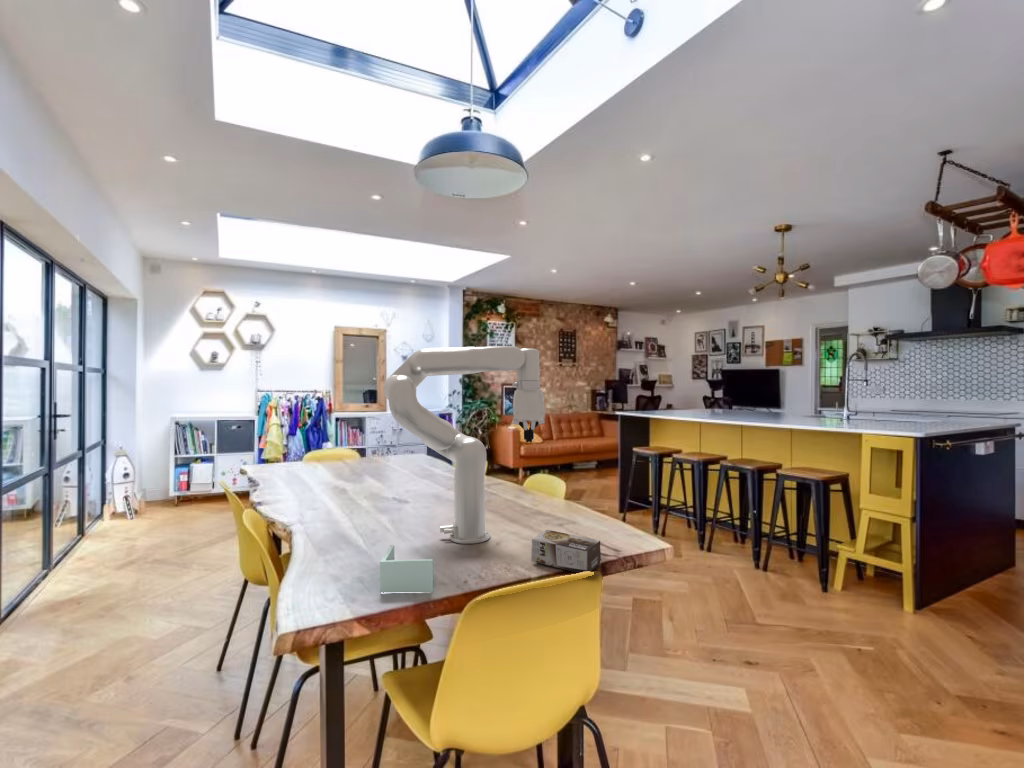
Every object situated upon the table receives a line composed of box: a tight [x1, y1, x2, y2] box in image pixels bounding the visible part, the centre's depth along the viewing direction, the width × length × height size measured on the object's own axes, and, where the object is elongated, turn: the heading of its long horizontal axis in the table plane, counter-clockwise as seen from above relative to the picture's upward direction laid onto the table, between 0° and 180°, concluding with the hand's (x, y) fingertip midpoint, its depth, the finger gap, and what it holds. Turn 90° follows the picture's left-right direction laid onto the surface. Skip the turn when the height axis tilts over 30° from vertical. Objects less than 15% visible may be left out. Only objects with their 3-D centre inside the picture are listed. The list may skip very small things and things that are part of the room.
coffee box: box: [530, 529, 602, 573], centre depth 134 cm, size 9×6×16 cm
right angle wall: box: [379, 544, 434, 593], centre depth 122 cm, size 12×12×8 cm
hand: (528, 441), depth 166 cm, fingers closed
